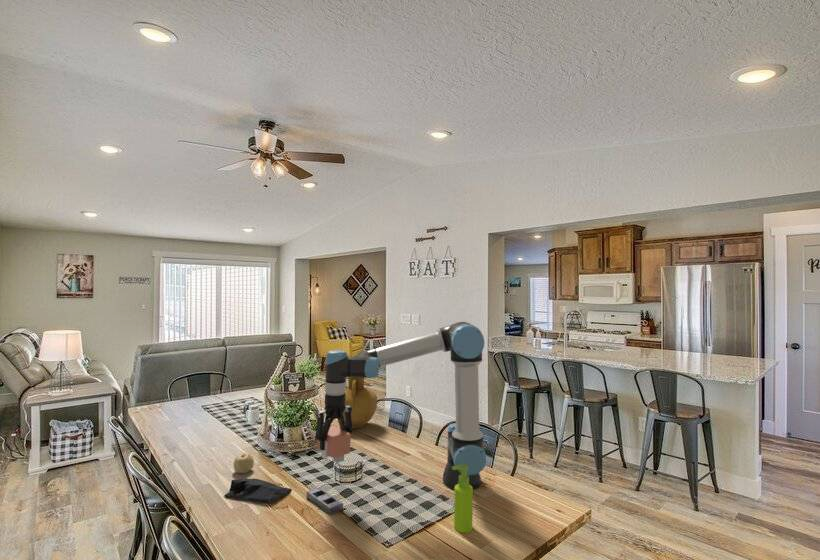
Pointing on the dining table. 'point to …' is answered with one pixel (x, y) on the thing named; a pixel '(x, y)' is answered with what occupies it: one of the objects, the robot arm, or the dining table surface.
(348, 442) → the pink toy cube
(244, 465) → the apple
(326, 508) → the rail
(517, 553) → the dining table surface
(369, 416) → the vase
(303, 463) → the dining table surface
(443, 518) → the dining table surface
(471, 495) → the soap dispenser
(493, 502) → the dining table surface
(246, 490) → the black crumpled cloth
